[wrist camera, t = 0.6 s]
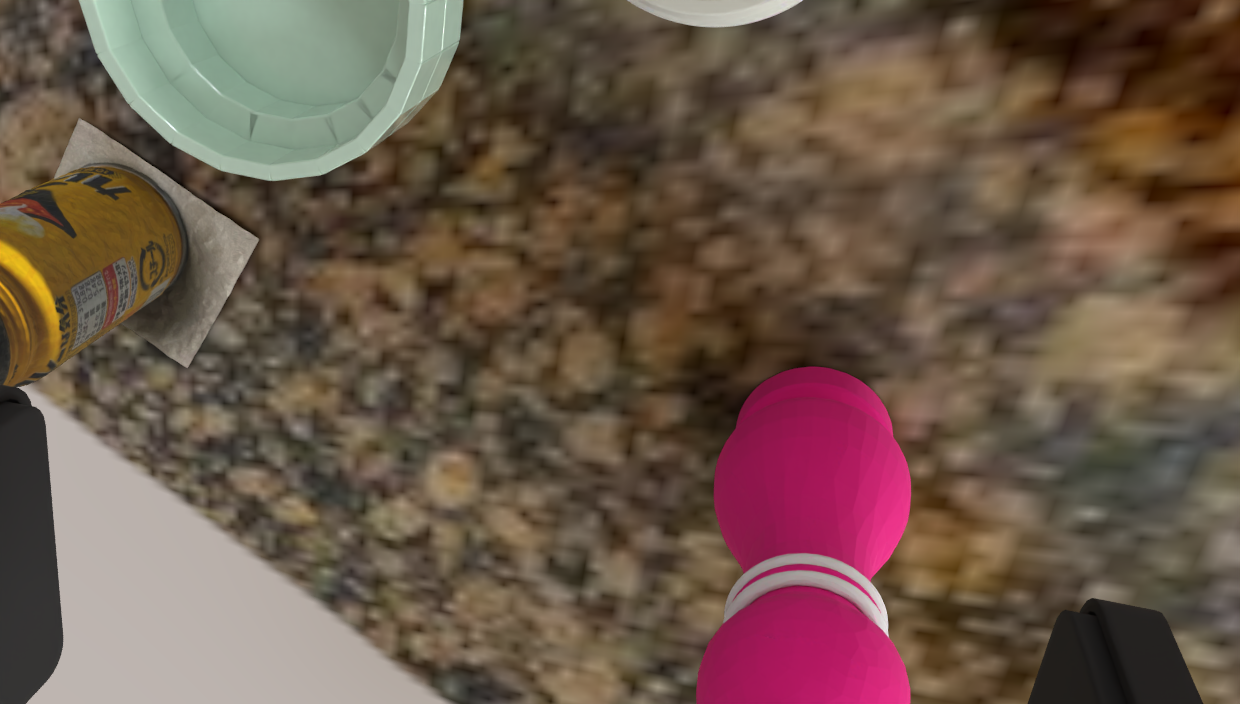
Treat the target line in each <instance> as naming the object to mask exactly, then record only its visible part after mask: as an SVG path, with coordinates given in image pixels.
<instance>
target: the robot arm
mask: <svg viewBox="0 0 1240 704" xmlns="http://www.w3.org/2000/svg"><path fill="white" fill-rule="evenodd" d="M62 648H63V628H62V617H61V605H60V592H59V580H58V569H57V557H56V544H55V533H54V520H53V510H52V497H51V485H50V473H49V461H48V449H47V437H46V425H45V420H44V416H43V414H42V413H41V411H40V410H39V409H37V408H36V407H32V405H31V401H30V399H29V398H28V396H27V394H26V393H25V392H24V391H22V390H21V389H19V388H16V387H11V386H6V385H1V384H0V704H26V703H27V702H28V700H29V699H30V698H31V697H32V696H33V695H34V694H35V693H36V692H37V691H38V690H39V689H40V688H41V687H42V685H44V683H45V682H46V681H47V680H48V679H49V678H50V676H51V675H52V673H53V672H54V670H55V668H56V666H57V664H58V661H59V659H60V656H61V652H62ZM1028 704H1203V702H1202V700H1201V698H1200V695H1199V693H1198V691H1197V689H1196V686H1195V684H1194V682H1193V679H1192V677H1191V675H1190V673H1189V670H1188V668H1187V666H1186V663H1185V661H1184V659H1183V657H1182V654H1181V652H1180V650H1179V648H1178V645H1177V643H1176V641H1175V638H1174V636H1173V634H1172V632H1171V629H1170V627H1169V625H1168V622H1167V620H1166V619H1165V617H1164V616H1163V614H1162V613H1161V612H1158V611H1156V610H1151V609H1146V608H1140V607H1135V606H1130V605H1125V604H1120V603H1115V602H1110V601H1105V600H1100V599H1094V598H1092V599H1090V600H1088V601H1086V603H1085V604H1084V606H1083V607H1082V608H1081V611H1080V613H1078V612H1073V611H1068V610H1064V611H1062V612H1061V613H1060V615H1059V616H1058V618H1057V620H1056V623H1055V625H1054V628H1053V631H1052V634H1051V637H1050V640H1049V643H1048V645H1047V648H1046V651H1045V654H1044V657H1043V660H1042V663H1041V666H1040V669H1039V672H1038V675H1037V678H1036V681H1035V684H1034V687H1033V690H1032V692H1031V695H1030V698H1029V701H1028Z"/></svg>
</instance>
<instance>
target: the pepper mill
mask: <svg viewBox="0 0 1240 704" xmlns="http://www.w3.org/2000/svg"><path fill="white" fill-rule="evenodd" d="M910 499H911V480H910V474H909V470H908V465H907V462H906V459H905V457H904V455H903V453H902V451H901V449H900V447H899V445H898V443H897V442H896V441H895V439H894V438H893V431H892V424H891V421H890V418H889V415H888V412H887V410H886V408H885V407H884V405H883V403H882V402H881V400H880V398H879V397H878V396H877V395H876V394H875V393H874V392H873V391H872V390H871V388H870V387H868V386H867V385H866V384H864V383H863V382H862V381H860V380H859V379H857V378H855V377H853V376H851V375H849V374H847V373H844V372H841V371H837V370H834V369H830V368H824V367H803V368H795V369H791V370H787V371H784V372H781V373H779V374H777V375H775V376H773V377H771V378H769V379H767V380H766V381H764V382H763V383H761V384H760V385H759V386H758V387H757V388H756V389H755V390H754V391H753V392H752V393H751V394H750V395H749V397H748V398H747V399H746V401H745V403H744V404H743V406H742V408H741V411H740V413H739V416H738V420H737V424H736V429H735V430H734V431H733V433H732V434H731V435H730V437H729V438H728V440H727V441H726V443H725V445H724V447H723V449H722V451H721V453H720V455H719V458H718V461H717V465H716V469H715V480H714V504H715V512H716V515H717V519H718V522H719V525H720V529H721V532H722V535H723V538H724V540H725V542H726V544H727V546H728V548H729V549H730V551H731V552H732V554H733V555H734V557H735V558H736V560H737V561H738V563H739V564H740V566H741V567H742V569H743V573H744V574H743V575H742V577H741V578H740V579H739V580H738V581H737V582H736V583H735V585H734V586H733V588H732V589H731V591H730V594H729V596H728V598H727V602H726V605H725V611H724V621H723V624H722V626H721V627H720V628H719V630H718V631H717V632H716V634H715V635H714V636H713V638H712V639H711V640H710V642H709V644H708V646H707V649H706V651H705V654H704V657H703V659H702V662H701V665H700V668H699V672H698V680H697V691H696V697H697V704H910V686H909V682H908V677H907V673H906V668H905V665H904V663H903V661H902V659H901V657H900V655H899V654H898V652H897V650H896V648H895V646H894V644H893V643H892V641H891V640H890V639H889V635H888V617H887V612H886V608H885V605H884V603H883V600H882V598H881V596H880V594H879V593H878V591H877V590H876V588H875V587H874V586H873V585H872V584H871V578H872V577H873V576H874V574H875V573H876V572H877V571H878V570H879V569H880V568H881V567H882V566H883V565H884V563H885V562H886V561H887V560H888V559H889V558H890V556H891V554H892V553H893V551H894V549H895V547H896V546H897V544H898V542H899V540H900V539H901V537H902V534H903V532H904V529H905V527H906V524H907V521H908V516H909V511H910Z"/></svg>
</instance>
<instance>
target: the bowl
mask: <svg viewBox="0 0 1240 704" xmlns="http://www.w3.org/2000/svg"><path fill="white" fill-rule="evenodd" d="M79 2H80V5H81V8H82V12H83V15H84V18H85V21H86V24H87V27H88V30H89V33H90V36H91V39H92V42H93V45H94V48H95V51H96V53H97V54H98V55H97V56H98V58H99V59H100V61H101V62H102V64H103V66H104V67H105V69H106V70H107V72H108V73H109V75H110V77H111V78H112V80H113V81H114V83H115V84H116V86H117V88H118V89H119V91H120V92H121V94H122V95H123V97H124V99H125V100H126V102H127V103H128V104H130V107H131V108H132V109H134V110H135V111H136V112H137V113H138V114H139V115H140V116H141V117H142V118H143V119H144V120H145V121H146V122H147V123H148V124H149V125H151V126H152V127H153V128H154V129H155V130H156V131H157V132H158V133H159V134H160V135H161V136H162V137H163V138H164V139H165V140H167V141H168V142H169V143H170V144H172V145H173V146H175V147H176V148H178V149H180V150H182V151H184V152H186V153H188V154H190V155H191V156H193V157H195V158H197V159H199V160H201V161H203V162H204V163H206V164H208V165H210V166H212V167H214V168H216V169H218V170H221V171H224V172H229V173H234V174H239V175H243V176H248V177H253V178H258V179H263V180H268V181H271V180H272V181H279V180H287V179H295V178H303V177H312V176H320V175H322V174H325V173H327V172H329V171H331V170H333V169H335V168H337V167H339V166H341V165H343V164H345V163H347V162H349V161H351V160H353V159H355V158H357V157H359V156H361V155H363V154H365V153H366V152H368V151H369V150H370V149H372V148H373V147H375V146H376V145H378V144H379V143H380V142H382V141H383V140H385V139H386V138H387V137H389V136H390V135H392V134H393V133H394V132H396V131H397V130H399V129H400V128H401V127H403V126H404V125H406V124H407V123H408V122H409V121H410V120H411V119H412V118H413V117H414V116H415V115H416V114H417V113H418V112H419V110H420V109H421V108H422V107H423V106H424V105H425V104H426V103H427V102H428V101H429V100H430V98H431V97H432V96H433V95H434V94H435V93H436V92H437V91H438V90H439V88H440V86H441V84H442V82H443V79H444V77H445V75H446V72H447V70H448V68H449V65H450V63H451V61H452V58H453V56H454V54H455V51H456V49H457V47H458V44H459V42H458V41H459V40H460V32H461V21H462V10H463V0H79Z"/></svg>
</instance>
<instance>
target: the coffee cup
mask: <svg viewBox="0 0 1240 704" xmlns="http://www.w3.org/2000/svg"><path fill="white" fill-rule="evenodd" d="M627 1H629V2H630V3H632V4H634V5H635V6H637V7H639V8H641V9H643V10H645V11H647V12H649V13H651V14H653V15H656V16H658V17H661V18H664V19H667V20H670V21H674V22H677V23H681V24H686V25H692V26H700V27H729V26H738V25H744V24H748V23H753V22H757V21H760V20H763V19H766V18H769V17H772V16H774V15H777V14H779V13H781V12H783V11H785V10H787V9H789V8H791V7H793V6H795V5H796V4H798V3H800V2H801V1H803V0H627Z"/></svg>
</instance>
